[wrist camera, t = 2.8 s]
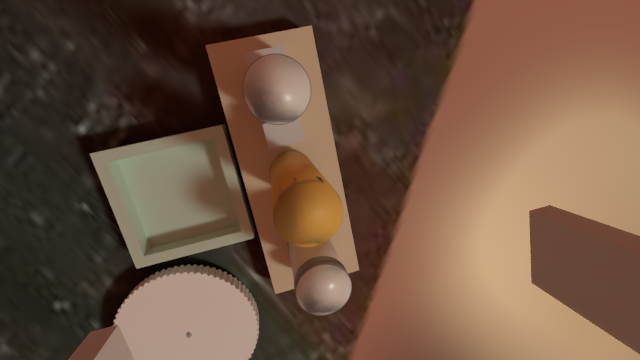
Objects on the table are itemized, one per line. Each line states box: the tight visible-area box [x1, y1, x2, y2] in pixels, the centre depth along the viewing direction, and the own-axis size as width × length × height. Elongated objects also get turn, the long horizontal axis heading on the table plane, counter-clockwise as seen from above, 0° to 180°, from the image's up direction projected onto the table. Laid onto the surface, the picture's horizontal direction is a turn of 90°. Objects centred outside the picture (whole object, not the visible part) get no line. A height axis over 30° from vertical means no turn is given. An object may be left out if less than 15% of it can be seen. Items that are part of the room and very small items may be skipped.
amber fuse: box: [270, 151, 343, 247], centre depth 23 cm, size 4×4×12 cm
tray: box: [90, 124, 255, 269], centre depth 29 cm, size 11×11×2 cm
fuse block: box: [205, 26, 359, 315], centre depth 26 cm, size 24×9×12 cm, turn 12°
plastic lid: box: [113, 264, 259, 360], centre depth 32 cm, size 14×14×2 cm
